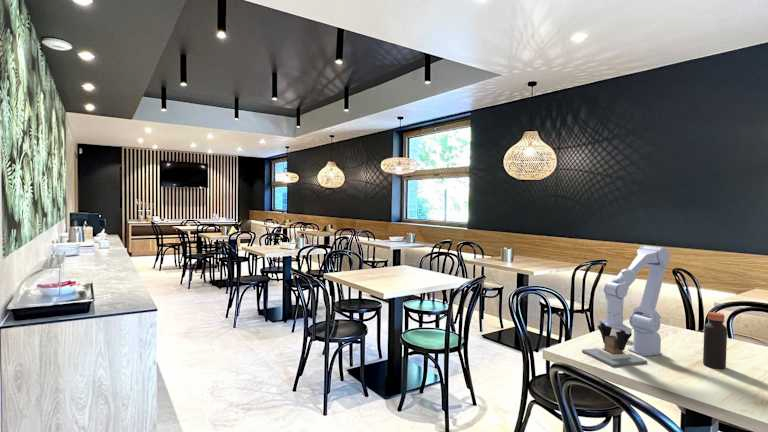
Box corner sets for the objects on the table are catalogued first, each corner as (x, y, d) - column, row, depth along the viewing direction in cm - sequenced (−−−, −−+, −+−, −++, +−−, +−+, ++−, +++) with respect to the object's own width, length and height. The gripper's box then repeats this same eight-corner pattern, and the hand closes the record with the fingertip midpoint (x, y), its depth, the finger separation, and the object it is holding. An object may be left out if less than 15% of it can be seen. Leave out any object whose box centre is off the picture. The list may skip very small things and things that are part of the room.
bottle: (720, 370, 152) (722, 316, 152) (699, 364, 158) (701, 312, 158) (729, 367, 155) (731, 314, 155) (708, 361, 161) (710, 310, 161)
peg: (613, 352, 167) (613, 335, 167) (622, 356, 162) (623, 338, 162) (604, 353, 166) (604, 336, 165) (613, 357, 161) (613, 339, 161)
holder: (613, 349, 174) (614, 343, 174) (647, 363, 158) (647, 356, 158) (581, 352, 170) (582, 346, 170) (612, 367, 154) (613, 360, 154)
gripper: (592, 308, 170) (591, 341, 170) (621, 318, 156) (620, 353, 156) (606, 307, 171) (605, 340, 172) (636, 316, 157) (635, 352, 158)
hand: (613, 346), depth 164 cm, fingers open, 7 cm apart
